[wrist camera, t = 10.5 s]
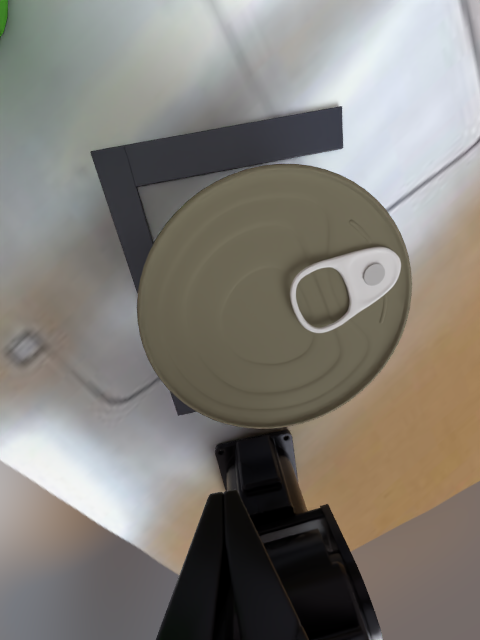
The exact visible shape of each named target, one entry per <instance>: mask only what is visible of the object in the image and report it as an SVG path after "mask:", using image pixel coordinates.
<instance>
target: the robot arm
mask: <svg viewBox="0 0 480 640" xmlns="http://www.w3.org/2000/svg"><path fill="white" fill-rule="evenodd" d="M284 436H286V437H284ZM220 450H223V451H220ZM215 454H216V457H217V461H218V464H219V468H220V471H221V475H222V478H223V482H224V485H225V489H226V491H225V492H224V494H223V493H222V492H218V493H213V494H210V495H209V497H208V499H207V502H206V505H205V507H204V510H203V513H202V516H201V518H200V521H199V524H198V526H197V529H196V532H195V535H194V537H193V540H192V543H191V545H190V548H189V551H188V554H187V556H186V559H185V562H184V564H183V567H182V570H181V573H180V575H179V578H178V581H177V584H176V586H175V589H174V592H173V595H172V597H171V600H170V602H169V605H168V608H167V611H166V614H165V616H164V619H163V622H162V624H161V627H160V630H159V632H158V635H157V638H156V640H383V637H382V633H381V630H380V626H379V623H378V620H377V617H376V614H375V611H374V608H373V605H372V602H371V600H370V597H369V594H368V592H367V589H366V587H365V584H364V581H363V579H362V576H361V574H360V572H359V570H358V567H357V565H356V563H355V561H354V558H353V556H352V554H351V552H350V550H349V548H348V545H347V543H346V541H345V539H344V537H343V535H342V533H341V531H340V529H339V526H338V524H337V522H336V520H335V518H334V516H333V514H332V512H331V510H330V507H329V505H328V504H326V505H322V506H320V508H318V509H314V510H311V511H307V508H306V505H305V502H304V499H303V496H302V493H301V490H300V487H299V484H298V477H297V470H296V463H295V455H294V448H293V441H292V436H291V433H290V431H288V430H283V431H278V432H274V433H269V434H265V435H260V436H255V437H251V438H246V439H242V440H237V441H233V442H228V443H224V444H219V445H217V446H216V448H215Z"/></svg>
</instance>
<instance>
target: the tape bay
mask: <svg viewBox="0 0 480 640" xmlns="http://www.w3.org/2000/svg"><path fill="white" fill-rule="evenodd" d="M342 148H343V131H342V106H340V107H334V108H329V109H323V110H318V111H312V112H307V113H301V114H296V115H290V116H285V117H279V118H273V119H268V120H262V121H257V122H251V123H246V124H240V125H235V126H229V127H223V128H218V129H212V130H207V131H201V132H196V133H190V134H185V135H179V136H173V137H168V138H162V139H157V140H151V141H146V142H140V143H135V144H129V145H123V146H118V147H112V148H107V149H101V150H96V151H91V155H92V158H93V161H94V164H95V167H96V170H97V173H98V176H99V179H100V182H101V185H102V188H103V191H104V194H105V197H106V200H107V203H108V206H109V209H110V212H111V215H112V218H113V221H114V224H115V227H116V230H117V233H118V236H119V239H120V242H121V245H122V248H123V251H124V254H125V257H126V260H127V263H128V266H129V269H130V272H131V275H132V278H133V281H134V284H135V287H136V290H137V293H138V289H139V283H140V278H141V275H142V271H143V267H144V264H145V262H146V259H147V257H148V254H149V252H150V250H151V248H152V246H153V242H152V238H151V235H150V231H149V228H148V224H147V221H146V217H145V214H144V211H143V207H142V204H141V200H140V197H139V193H138V190H137V187H138V186H143V185H149V184H154V183H160V182H165V181H170V180H176V179H181V178H187V177H192V176H197V175H203V174H208V173H214V172H219V171H224V170H230V169H235V168H240V167H246V166H251V165H257V164H262V163H267V162H273V161H278V160H284V159H289V158H294V157H300V156H305V155H311V154H316V153H321V152H327V151H332V150H337V149H342ZM170 392H171V391H170ZM171 395H172V398H173V401H174V404H175V407H176V410H177V413H178V416H179V415H184V414H188V413H193V412H197V411H195V410H193V409H192V408H190V407H189V406H187V405H186V404H184V403H183V402H182V401H181V400H179V399H178V398H177V397H176V396H175V395H174V394H173V393H172V392H171Z"/></svg>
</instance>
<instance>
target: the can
mask: <svg viewBox="0 0 480 640" xmlns="http://www.w3.org/2000/svg"><path fill="white" fill-rule="evenodd" d="M411 292H412V278H411V267H410V262H409V256H408V253H407V249H406V246H405V243H404V241H403V238H402V236H401V233H400V231H399V230H398V228H397V226H396V224H395V222H394V221H393V219H392V218H391V216H390V215H389V214H388V212H387V211H386V209H385V208H384V207H383V206H382V205H381V204H380V203H379V202H378V201H377V199H375V198H374V197H373V196H372V195H371V194H370V193H369V192H367V191H366V190H365V189H363V188H362V187H360V186H359V185H357V184H356V183H355V182H353V181H351V180H349V179H347V178H345V177H343V176H341V175H339V174H336V173H334V172H331V171H328V170H325V169H321V168H317V167H313V166H307V165H299V164H274V165H265V166H259V167H255V168H250V169H246V170H243V171H240V172H237V173H234V174H231V175H229V176H227V177H225V178H223V179H221V180H218V181H216V182H214V183H213V184H211V185H210V186H208V187H206V188H205V189H203V190H201V191H200V192H199V193H197V194H196V195H195V196H194V197H192V198H191V199H190V200H188V201H187V202H186V203H185V204H184V205H183V206H182V207H181V208H180V209H179V210H178V211H177V212H176V213H175V214H174V215H173V216H172V218H171V219H170V220H169V221H168V222H167V224H166V225H165V226H164V228H163V229H162V231H161V232H160V234H159V235H158V237H157V238H156V240H155V242H154V244H153V246H152V248H151V250H150V252H149V254H148V257H147V259H146V262H145V264H144V267H143V271H142V275H141V278H140V283H139V289H138V299H137V316H138V326H139V332H140V337H141V340H142V344H143V347H144V350H145V352H146V355H147V357H148V360H149V361H150V363H151V365H152V367H153V369H154V371H155V372H156V374H157V375H158V377H159V378H160V380H161V381H162V382H163V383H164V385H165V386H166V387H167V388H168V389H169V390H170V391H171V392H172V393H173V394H174V395H175V396H176V397H177V398H178V399H179V400H181V401H182V402H183V403H184V404H186V405H187V406H189V407H190V408H192V409H193V410H195V411H197V412H198V413H200V414H202V415H204V416H206V417H208V418H211V419H213V420H216V421H219V422H222V423H225V424H229V425H233V426H237V427H244V428H255V429H271V428H282V427H288V426H293V425H297V424H301V423H305V422H308V421H311V420H314V419H316V418H319V417H321V416H324V415H326V414H328V413H330V412H332V411H334V410H335V409H337V408H339V407H340V406H342V405H344V404H345V403H347V402H348V401H349V400H351V399H352V398H354V397H355V396H356V395H357V394H359V393H360V392H361V391H362V390H363V389H364V388H365V387H366V386H368V385H369V384H370V383H371V382H372V380H373V379H374V378H375V377H376V376H377V375H378V374H379V373H380V371H381V370H382V369H383V367H384V366H385V365H386V363H387V362H388V360H389V359H390V357H391V355H392V354H393V352H394V350H395V348H396V346H397V345H398V343H399V340H400V338H401V336H402V333H403V331H404V328H405V324H406V321H407V318H408V313H409V309H410V302H411Z"/></svg>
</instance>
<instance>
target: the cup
mask: <svg viewBox="0 0 480 640" xmlns="http://www.w3.org/2000/svg"><path fill="white" fill-rule="evenodd" d="M7 16H8V0H0V37H1V35H2V34H3V32H4V29H5V25H6V21H7Z"/></svg>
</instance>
